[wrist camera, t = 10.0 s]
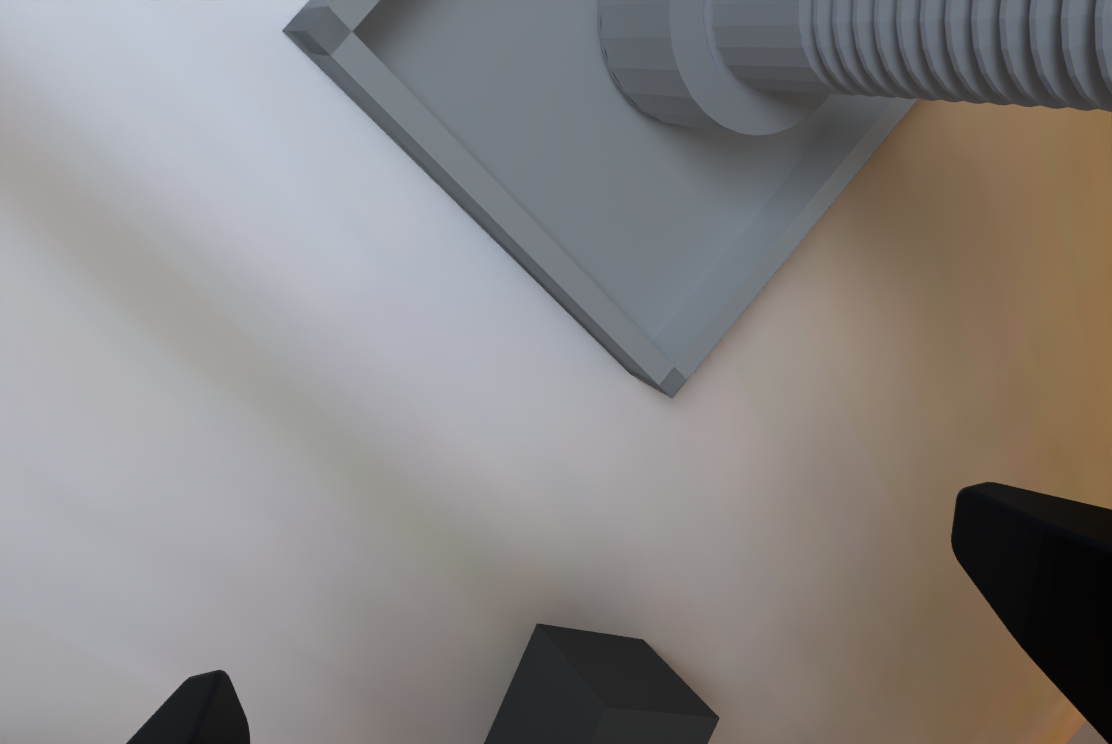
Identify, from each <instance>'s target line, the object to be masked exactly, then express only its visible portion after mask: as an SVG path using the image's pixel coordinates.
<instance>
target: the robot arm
mask: <svg viewBox="0 0 1112 744" xmlns="http://www.w3.org/2000/svg"><path fill="white" fill-rule="evenodd" d="M951 543H952V548H953V552H954V554H955V556H956V558H957V560H958V562H959V563H960V565H961V566H962V567H963V569H964V570H965V572H966V573H967V574H968V576H969V577H970V578H971V580H972V581H973V582H974V584H975V585H976V587H977V588H978V589H979V591H980V592H981V593H982V595H983V596H984V598H985V599H986V600H987V602H988V603H989V604H990V606H991V607H992V609H993V610H994V611H995V613H996V614H997V615H998V617H999V618H1000V620H1001V621H1002V622H1003V624H1004V625H1005V626H1006V628H1007V629H1008V631H1009V632H1010V633H1011V634H1012V636H1013V637H1014V638H1015V640H1016V641H1017V642H1018V643H1019V645H1020V646H1021V647H1022V648H1023V650H1024V651H1025V652H1026V653H1027V654H1028V655H1029V657H1030V658H1031V659H1032V660H1033V661H1034V662H1035V663H1036V665H1037V666H1038V667H1039V668H1040V669H1041V670H1042V671H1043V672H1044V673H1045V674H1046V676H1047V677H1048V678H1049V679H1050V680H1051V681H1052V682H1053V683H1054V684H1055V685H1056V687H1057V688H1058V689H1059V690H1060V691H1061V692H1062V693H1063V694H1064V695H1065V696H1066V698H1067V699H1068V700H1069V701H1070V702H1071V703H1072V704H1073V705H1074V706H1075V707H1076V709H1077V710H1078V711H1079V712H1080V713H1081V714H1082V715H1083V716H1084V717H1085V718H1086V720H1087V721H1088V722H1089V723H1090V724H1091V725H1092V726H1093V727H1094V728H1095V729H1096V731H1097V732H1098V733H1099V734H1100V735H1101V736H1102V737H1103V738H1104V739H1105V740H1106V742H1107V743H1108V744H1112V510H1111V509H1107V508H1103V507H1098V506H1094V505H1090V504H1086V503H1081V502H1077V501H1073V500H1068V499H1064V498H1060V497H1055V496H1051V495H1047V494H1042V493H1038V492H1034V491H1030V490H1025V489H1021V488H1017V487H1012V486H1008V485H1004V484H999V483H995V482H985V483H981V484H977V485H972V486H968V487H965V488H963V489H961V490H960V491H959V493H958V495H957V498H956V505H955V512H954V520H953V527H952V534H951ZM126 744H250V733H249V726H248V722H247V718H246V716H245V713H244V711H243V708H242V706H241V704H240V701H239V699H238V696H237V694H236V692H235V689H234V687H233V684H232V682H231V680H230V678H229V676H228V674H227V673H226V672H225V671H222V670H216V671H212V672H208V673H204V674H200V675H196V676H192V677H189V678H188V679H187V680H185V681H184V682H183V683H182V684H181V685H180V686H179V688H178V689H177V690H176V691H175V692H174V693H173V694H172V695H171V696H170V697H169V698H168V699H167V700H166V701H165V702H164V704H163V705H162V706H161V707H160V708H159V709H158V710H157V711H156V712H155V713H154V714H153V715H152V716H151V717H150V719H149V720H148V721H147V722H146V723H145V724H144V725H143V726H142V727H141V728H140V729H139V730H138V731H137V732H136V734H135V735H134V736H133V737H132V738H131V739H130V740H129V741H128V742H127V743H126Z"/></svg>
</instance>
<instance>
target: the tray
mask: <svg viewBox="0 0 1112 744" xmlns="http://www.w3.org/2000/svg"><path fill="white" fill-rule="evenodd" d="M283 32H284V33H285V34H286V35H287V36H288V37H289V38H290V39H291V40H292V41H293V42H294V43H295V44H296V45H297V46H298V47H299V48H300V49H301V50H302V51H303V52H304V53H305V54H306V55H307V56H308V57H309V58H310V59H311V60H312V61H313V62H314V63H315V64H316V65H317V66H318V67H319V68H320V69H321V70H322V71H323V72H324V73H325V74H326V75H327V76H328V77H329V78H331V79H332V80H333V81H334V82H335V83H336V84H337V85H338V86H339V87H340V88H341V89H342V90H343V91H344V92H345V93H346V94H347V95H348V96H349V97H350V98H351V99H352V100H353V101H354V102H355V103H356V104H357V105H358V106H359V107H360V108H361V109H362V110H363V111H364V112H365V113H366V114H367V115H368V116H369V117H370V118H371V119H372V120H373V121H374V122H375V123H376V124H377V125H378V126H379V127H380V128H381V129H382V130H383V131H384V132H385V133H386V134H387V135H388V136H389V137H390V138H391V139H392V140H393V141H394V142H395V143H396V144H397V145H398V146H399V147H401V148H402V149H403V150H404V151H405V152H406V153H407V154H408V155H409V156H410V157H411V158H412V159H413V160H414V161H415V162H416V163H417V164H418V165H419V166H420V167H421V168H422V169H423V170H424V171H425V172H426V173H427V174H428V175H429V176H430V177H431V178H432V179H433V180H434V181H435V182H436V183H437V184H438V185H439V186H440V187H441V188H442V189H443V190H444V191H445V192H446V193H447V194H448V195H449V196H450V197H451V198H452V199H453V200H454V201H455V202H456V203H457V204H458V205H459V206H460V207H461V208H462V209H463V210H464V211H465V212H466V213H467V214H468V215H469V216H471V217H472V218H473V219H474V220H475V221H476V222H477V223H478V224H479V225H480V226H481V227H482V228H483V229H484V230H485V231H486V232H487V233H488V234H489V235H490V236H491V237H492V238H493V239H494V240H495V241H496V242H497V243H498V244H499V245H500V246H501V247H502V248H503V249H504V250H505V251H506V252H507V253H508V254H509V255H510V256H511V257H512V258H513V259H514V260H515V261H516V262H517V263H518V264H519V265H520V266H521V267H522V268H523V269H524V270H525V271H526V272H527V273H528V274H529V275H530V276H531V277H532V278H533V279H534V280H535V281H536V282H537V283H538V284H539V285H541V286H542V287H543V288H544V289H545V290H546V291H547V292H548V293H549V294H550V295H551V296H552V297H553V298H554V299H555V300H556V301H557V302H558V303H559V304H560V305H561V306H562V307H563V308H564V309H565V310H566V311H567V312H568V313H569V314H570V315H571V316H572V317H573V318H574V319H575V320H576V321H577V322H578V323H579V324H580V325H581V326H582V327H583V328H584V329H585V330H586V331H587V332H588V333H589V334H590V335H591V336H592V337H593V338H594V339H595V340H596V341H597V342H598V343H599V344H600V345H601V346H602V347H603V348H604V349H605V350H606V351H607V352H608V353H609V354H610V355H612V356H613V357H614V358H615V359H616V360H617V361H618V362H619V363H620V364H621V365H622V366H623V367H624V368H625V369H626V370H627V371H628V372H629V373H630V374H631V375H633V376H635V377H636V378H638V379H640V380H641V381H643V382H645V383H647V384H648V385H650V386H652V387H653V388H655V389H657V390H659V391H660V392H662V393H664V394H665V395H667V396H669V397H670V398H673V397H674V396H675V394H676V393H677V392H678V391H679V389H680V388H681V387H682V386H683V385H684V383H685V382H686V381H687V380H688V379H689V377H690V376H691V375H692V374H693V372H694V371H695V370H696V369H697V368H698V366H699V365H700V364H701V363H702V362H703V360H704V359H705V358H706V357H707V355H708V354H709V353H710V352H711V351H712V349H713V348H714V347H715V346H716V344H717V343H718V342H719V341H720V340H721V338H722V337H723V336H724V335H725V334H726V332H727V331H728V330H729V329H730V327H731V326H732V325H733V324H734V323H735V321H736V320H737V319H738V318H739V316H740V315H741V314H742V313H743V312H744V310H745V309H746V308H747V307H748V306H749V304H750V303H751V302H752V301H753V299H754V298H755V297H756V296H757V295H758V293H759V292H760V291H761V290H762V288H763V287H764V286H765V285H766V284H767V282H768V281H769V280H770V279H771V278H772V276H773V275H774V274H775V273H776V271H777V270H778V269H779V268H780V267H781V265H782V264H783V263H784V262H785V261H786V259H787V258H788V257H789V256H790V254H791V253H792V252H793V251H794V250H795V248H796V247H797V246H798V245H799V243H800V242H801V241H802V240H803V239H804V237H805V236H806V235H807V234H808V233H809V231H810V230H811V229H812V228H813V226H814V225H815V224H816V223H817V222H818V220H819V219H820V218H821V217H822V215H823V214H824V213H825V212H826V211H827V209H828V208H829V207H830V206H831V205H832V203H833V202H834V201H835V200H836V198H837V197H838V196H839V195H840V194H841V192H842V191H843V190H844V189H845V187H846V186H847V185H848V184H849V183H850V181H851V180H852V179H853V178H854V177H855V175H856V174H857V173H858V172H859V170H860V169H861V168H862V167H863V166H864V164H865V163H866V162H867V161H868V159H869V158H870V157H871V156H872V155H873V153H874V152H875V151H876V150H877V149H878V147H879V146H880V145H881V144H882V142H883V141H884V140H885V139H886V138H887V136H888V135H889V134H890V133H891V132H892V130H893V129H894V128H895V127H896V125H897V124H898V123H899V122H900V121H901V119H902V118H903V117H904V116H905V114H906V113H907V112H908V111H909V110H910V108H911V107H912V106H913V105H914V104H915V102H916V101H917V100H918V99H919V98H917V99H905V98H901V97H894V98H886V97H882V96H873V97H869V96H864V95H838V94H830V95H829V97H828V98H827V99H826V101H825V102H824V103H823V104H822V105H821V106H820V107H819V108H818V109H817V110H816V111H815V112H813V113H812V114H811V115H810V116H809V117H808V118H806V119H805V120H803V121H802V122H800V123H798V124H797V125H795V126H794V127H791V128H789V129H786V130H784V131H782V132H778V133H775V134H767V135H758V136H757V135H749V134H741V133H734V132H726V131H718V130H711V129H703V128H695V127H688V126H682V125H671V124H668V123H665V122H662V121H659V120H657V119H654V118H652V117H650V116H649V115H647V114H645V113H644V112H642V111H641V110H639V109H638V108H637V107H636V106H635V105H633V104H632V103H631V102H630V101H629V99H628V98H627V97H626V96H625V95H624V94H623V92H622V91H621V90H620V88H619V87H618V85H617V84H616V82H615V81H614V79H613V77H612V75H611V73H610V71H609V69H608V67H607V64H606V61H605V58H604V55H603V52H602V49H601V43H600V37H599V30H598V0H309V1H308V3H307V4H306V5H305V6H304V7H303V8H302V9H301V10H300V12H299V13H298V14H297V15H296V16H295V17H294V18H293V19H292V21H291V22H290V23H289V24H288V25H287V26H286V27H285V28H284V29H283ZM749 94H750V93H749Z"/></svg>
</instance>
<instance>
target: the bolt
mask: <svg viewBox="0 0 1112 744" xmlns="http://www.w3.org/2000/svg"><path fill="white" fill-rule="evenodd" d="M598 30H599V37H600V43H601V49H602V52H603V55H604V58H605V61H606V64H607V67H608V69H609V71H610V73H611V75H612V77H613V79H614V81H615V82H616V84H617V85H618V87H619V88H620V90H621V91H622V92H623V94H624V95H625V96H626V97H627V98H628V99H629V101H630V102H631V103H632V104H633V105H635V106H636V107H637V108H638V109H639V110H641V111H642V112H644V113H645V114H647V115H649V116H650V117H652V118H654V119H657V120H659V121H662V122H665V123H668V124H671V125H682V126H688V127H695V128H703V129H711V130H718V131H726V132H734V133H741V134H749V135H757V136H758V135H767V134H775V133H778V132H782V131H784V130H786V129H789V128H791V127H794V126H795V125H797V124H798V123H800V122H802V121H803V120H805V119H806V118H808V117H809V116H810V115H811V114H812V113H813V112H815V111H816V110H817V109H818V108H819V107H820V106H821V105H822V104H823V103H824V102H825V101H826V99H827V98H828V97H829V95H830V94H838V95H864V96H869V97H873V96H882V97H886V98H894V97H901V98H905V99H917V98H920V99H925V100H930V101H934V100H940V99H941V100H945V101H949V102H959V101H966V102H971V103H977V104H980V103H986V102H989V103H993V104H997V105H1009V104H1016V105H1020V106H1024V107H1033V106H1039V105H1040V106H1045V107H1049V108H1054V109H1060V108H1065V107H1070V108H1074V109H1078V110H1085V111H1089V110H1094V109H1101V110H1105V111H1109V112H1112V0H598ZM749 93H750V94H749Z"/></svg>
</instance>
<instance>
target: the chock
mask: <svg viewBox="0 0 1112 744" xmlns="http://www.w3.org/2000/svg"><path fill="white" fill-rule="evenodd" d="M718 720H719V717H718V716H717V715H716V714H715V713H714V712H713V711H712V710H711V709H710V708H709V707H708V706H707V705H706V704H705V703H704V702H703V701H702V699H701V698H700V697H699V696H698V695H697V694H696V693H695V692H694V691H693V690H692V689H691V688H690V687H689V686H688V685H687V684H686V683H685V682H684V681H683V680H682V679H681V678H680V677H679V676H678V675H677V674H676V673H675V672H674V671H673V670H672V669H671V668H670V667H669V666H668V665H667V664H666V663H665V662H664V661H663V660H662V659H661V658H660V657H659V656H658V654H657V653H656V652H655V651H654V650H653V649H652V648H651V647H650V646H649V645H648V644H647V643H646V642H645V641H644V640H643V639H636V638H630V637H623V636H616V635H610V634H603V633H597V632H590V631H584V630H577V629H570V628H564V627H557V626H551V625H544V624H537V625H536V627H535V629H534V632H533V634H532V636H531V638H530V641H529V643H528V645H527V647H526V650H525V652H524V654H523V657H522V659H521V661H520V663H519V666H518V668H517V670H516V672H515V675H514V677H513V679H512V681H511V684H510V686H509V688H508V691H507V693H506V695H505V697H504V700H503V702H502V704H501V706H500V709H499V711H498V713H497V716H496V718H495V720H494V722H493V725H492V727H491V729H490V731H489V734H488V736H487V738H486V740H485V743H484V744H708V741H709V739H710V737H711V735H712V733H713V731H714V729H715V727H716V725H717V723H718Z"/></svg>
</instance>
